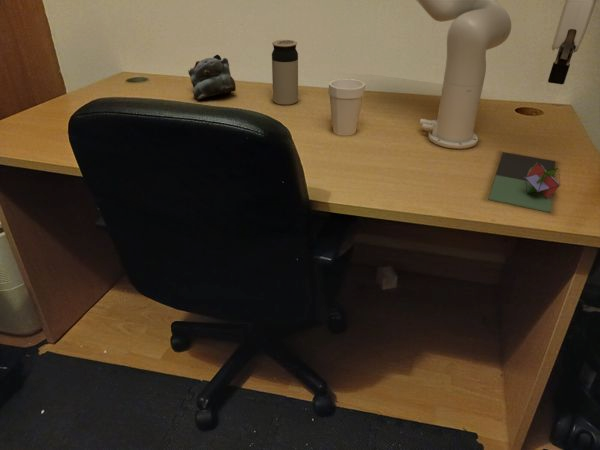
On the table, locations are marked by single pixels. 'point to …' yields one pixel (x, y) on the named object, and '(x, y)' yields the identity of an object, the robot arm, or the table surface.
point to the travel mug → (285, 72)
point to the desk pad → (519, 182)
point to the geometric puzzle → (542, 180)
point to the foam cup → (345, 104)
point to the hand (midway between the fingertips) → (555, 82)
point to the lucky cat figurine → (211, 77)
